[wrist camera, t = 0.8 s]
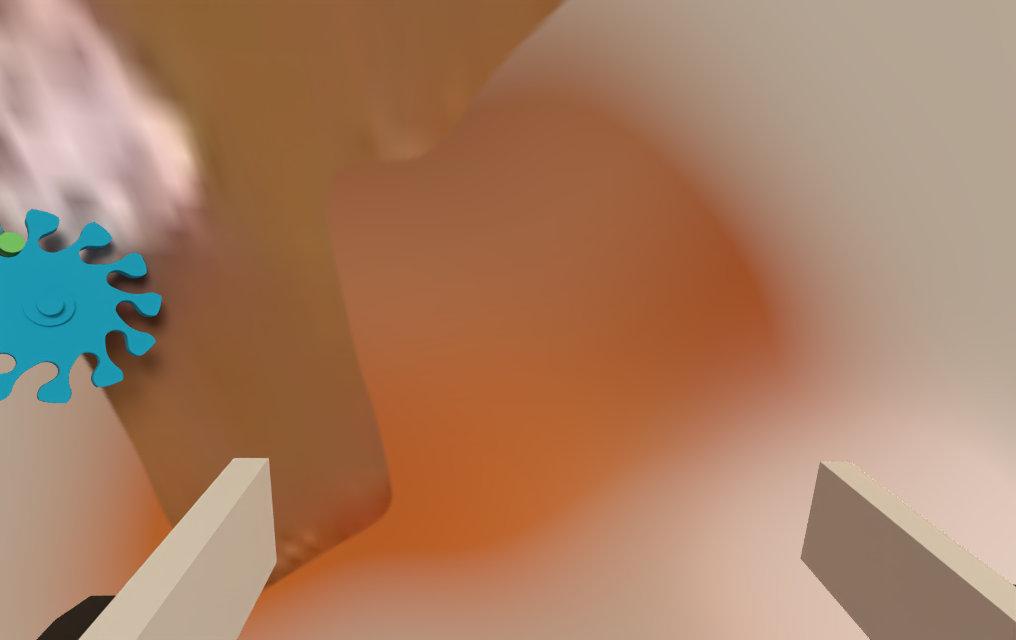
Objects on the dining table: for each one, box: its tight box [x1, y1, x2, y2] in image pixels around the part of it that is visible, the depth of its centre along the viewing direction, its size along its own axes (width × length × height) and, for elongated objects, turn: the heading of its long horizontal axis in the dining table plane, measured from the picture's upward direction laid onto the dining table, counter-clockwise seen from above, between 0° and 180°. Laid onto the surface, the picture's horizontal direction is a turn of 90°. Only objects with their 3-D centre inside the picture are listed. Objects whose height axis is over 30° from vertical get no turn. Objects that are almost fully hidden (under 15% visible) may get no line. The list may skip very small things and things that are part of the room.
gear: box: [0, 209, 162, 403], centre depth 29 cm, size 11×6×10 cm
